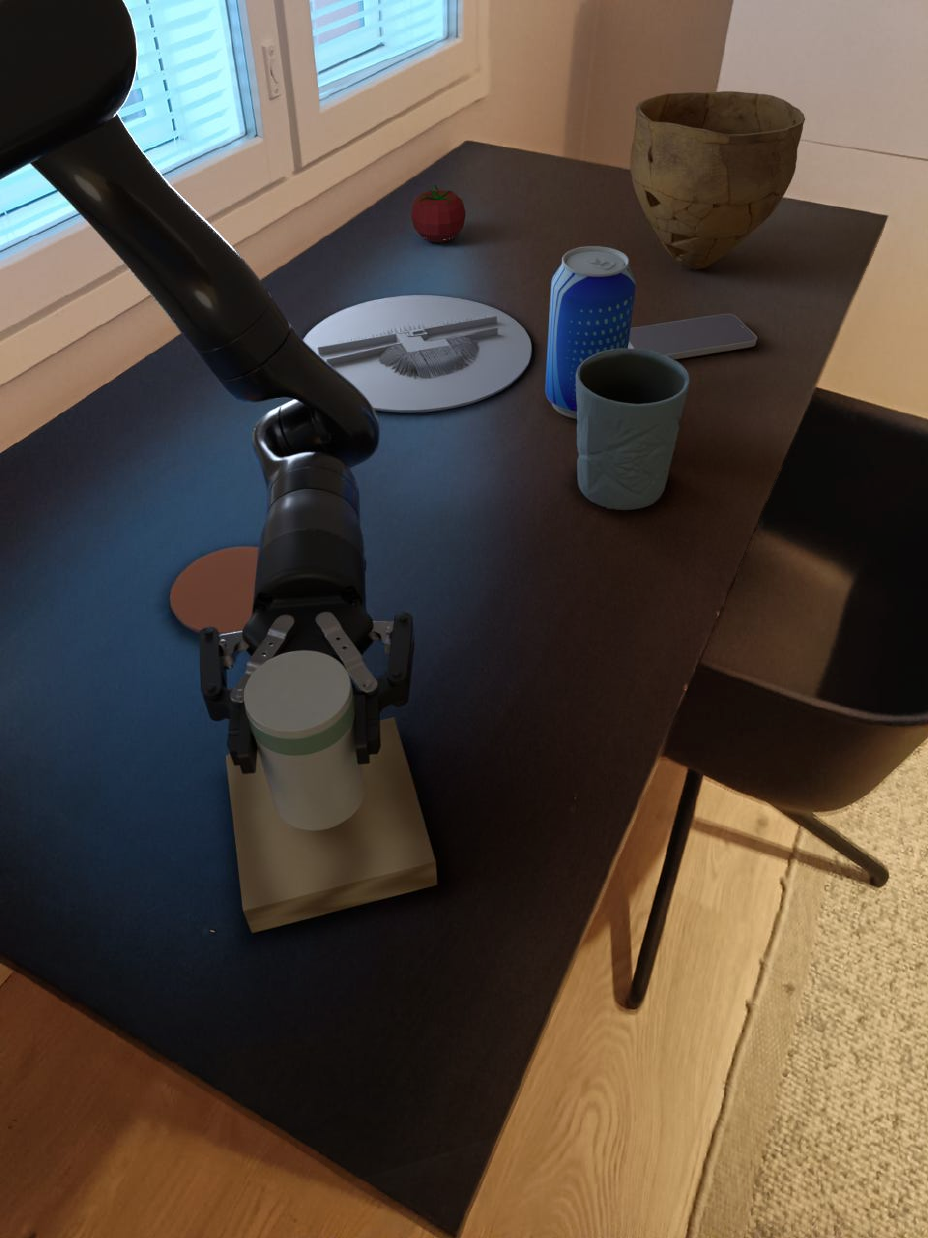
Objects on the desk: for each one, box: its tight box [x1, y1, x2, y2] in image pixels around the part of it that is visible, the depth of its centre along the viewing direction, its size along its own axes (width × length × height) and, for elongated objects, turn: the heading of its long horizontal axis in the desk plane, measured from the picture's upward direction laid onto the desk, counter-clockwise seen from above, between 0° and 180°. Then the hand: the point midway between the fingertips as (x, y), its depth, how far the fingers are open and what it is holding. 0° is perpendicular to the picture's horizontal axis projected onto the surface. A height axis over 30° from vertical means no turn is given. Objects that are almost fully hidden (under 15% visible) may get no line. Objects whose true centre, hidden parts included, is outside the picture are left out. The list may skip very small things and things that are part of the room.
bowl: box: [629, 90, 806, 271], centre depth 116 cm, size 21×20×20 cm
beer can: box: [544, 245, 637, 420], centre depth 93 cm, size 8×8×16 cm
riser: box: [225, 717, 438, 934], centre depth 60 cm, size 12×12×3 cm
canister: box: [244, 651, 366, 830], centre depth 54 cm, size 6×6×10 cm
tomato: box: [410, 184, 467, 243], centre depth 128 cm, size 8×8×8 cm
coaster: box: [169, 546, 259, 635], centre depth 78 cm, size 11×11×1 cm
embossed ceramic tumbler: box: [576, 348, 691, 511], centre depth 84 cm, size 10×10×12 cm
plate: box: [302, 294, 532, 414], centre depth 108 cm, size 28×28×1 cm
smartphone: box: [628, 313, 758, 360], centre depth 108 cm, size 7×1×15 cm
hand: (304, 760), depth 51 cm, fingers closed on canister, 6 cm apart
